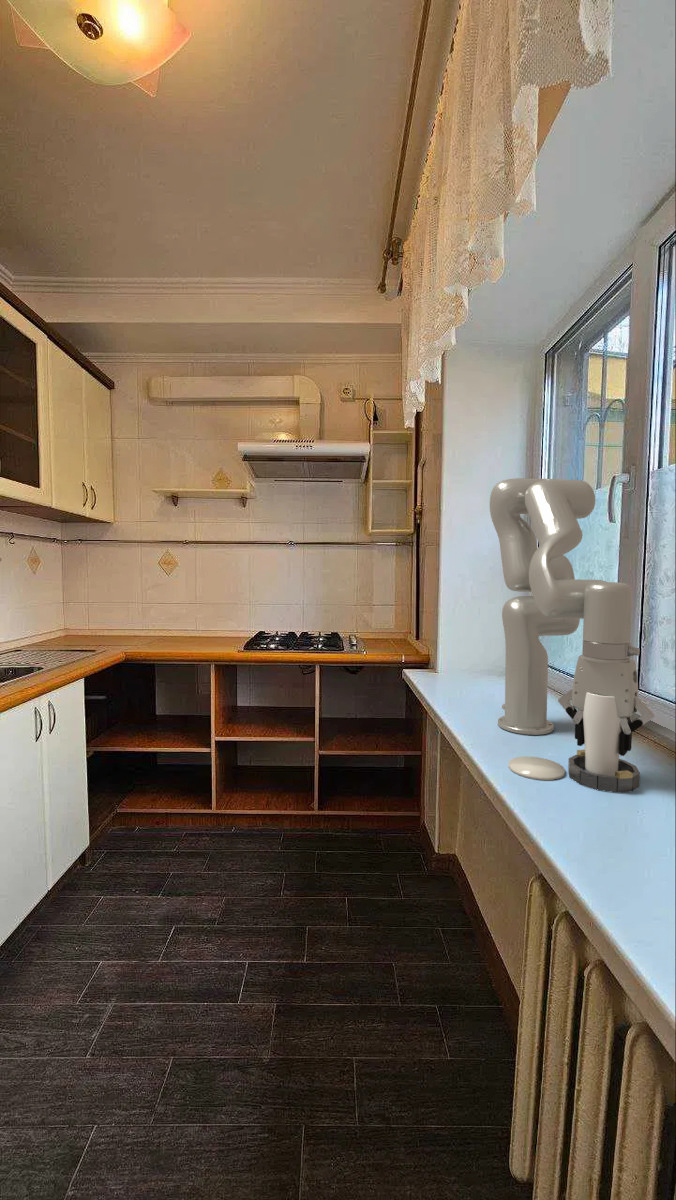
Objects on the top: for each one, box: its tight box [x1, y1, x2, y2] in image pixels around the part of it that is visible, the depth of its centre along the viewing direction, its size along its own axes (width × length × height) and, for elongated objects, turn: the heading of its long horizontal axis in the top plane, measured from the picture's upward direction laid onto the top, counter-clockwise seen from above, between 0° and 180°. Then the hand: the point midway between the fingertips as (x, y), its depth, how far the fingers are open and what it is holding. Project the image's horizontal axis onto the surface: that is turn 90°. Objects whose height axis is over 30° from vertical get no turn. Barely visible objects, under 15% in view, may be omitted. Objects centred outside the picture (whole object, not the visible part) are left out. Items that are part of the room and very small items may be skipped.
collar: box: [567, 749, 641, 793], centre depth 92 cm, size 12×11×3 cm
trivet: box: [508, 756, 566, 781], centre depth 96 cm, size 10×10×1 cm
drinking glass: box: [583, 692, 622, 777], centre depth 92 cm, size 7×7×15 cm
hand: (602, 747), depth 92 cm, fingers closed on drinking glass, 6 cm apart
